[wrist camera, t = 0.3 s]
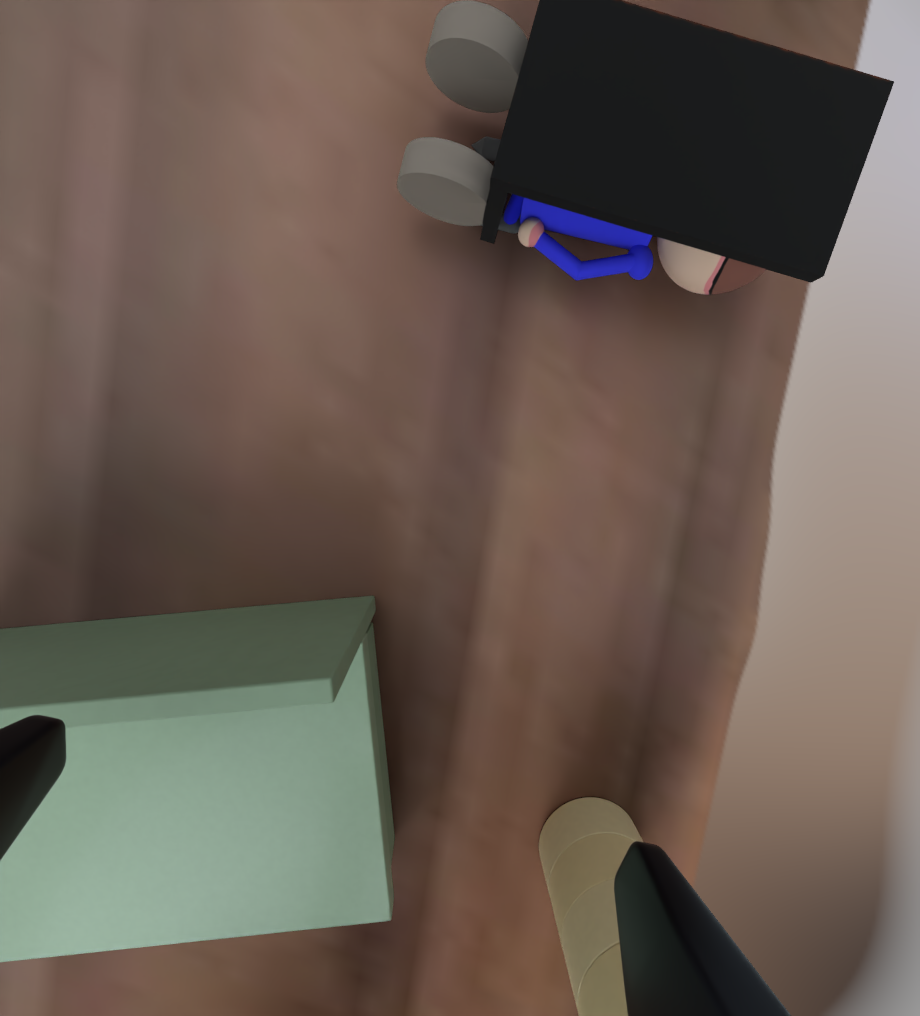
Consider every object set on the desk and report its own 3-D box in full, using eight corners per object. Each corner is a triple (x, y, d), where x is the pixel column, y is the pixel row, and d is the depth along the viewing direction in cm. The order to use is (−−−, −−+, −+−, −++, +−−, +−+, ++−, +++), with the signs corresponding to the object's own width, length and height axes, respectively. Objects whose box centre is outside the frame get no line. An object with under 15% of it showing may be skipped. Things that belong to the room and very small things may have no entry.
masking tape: (576, 908, 25) (660, 1191, 15) (518, 835, 25) (568, 1080, 15) (656, 851, 25) (792, 1100, 15) (599, 777, 24) (703, 986, 15)
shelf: (400, 846, 24) (374, 1068, 16) (30, 884, 24) (-217, 1136, 15) (374, 594, 23) (331, 677, 14) (-16, 629, 23) (-313, 737, 14)
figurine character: (413, 263, 23) (729, 341, 22) (372, 161, 16) (846, 272, 15) (450, 117, 23) (775, 192, 22) (425, -60, 15) (920, 41, 14)
